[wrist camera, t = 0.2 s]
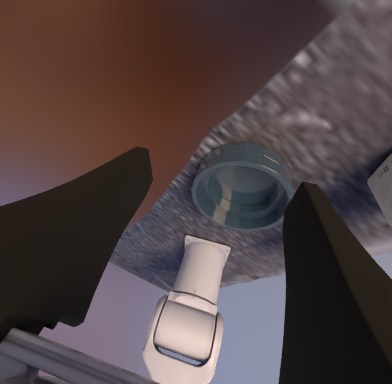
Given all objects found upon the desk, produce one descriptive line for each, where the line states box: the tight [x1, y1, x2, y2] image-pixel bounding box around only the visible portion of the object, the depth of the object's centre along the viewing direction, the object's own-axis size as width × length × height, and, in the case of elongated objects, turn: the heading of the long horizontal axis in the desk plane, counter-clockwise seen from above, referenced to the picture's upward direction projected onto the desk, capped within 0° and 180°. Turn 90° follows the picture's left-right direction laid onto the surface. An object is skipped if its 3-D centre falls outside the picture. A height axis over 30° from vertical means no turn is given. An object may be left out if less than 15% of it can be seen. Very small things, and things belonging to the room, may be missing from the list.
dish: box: [191, 142, 295, 231], centre depth 21 cm, size 10×10×4 cm
